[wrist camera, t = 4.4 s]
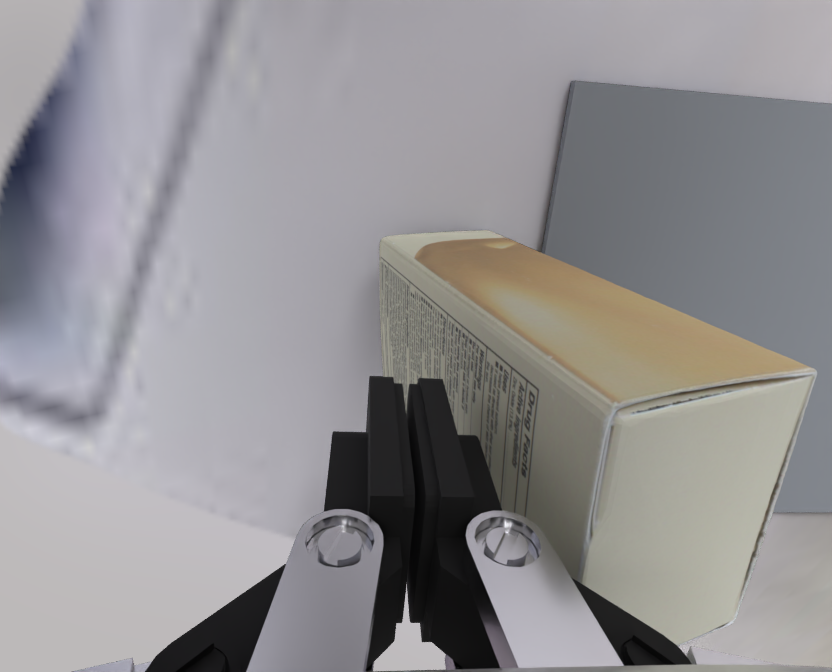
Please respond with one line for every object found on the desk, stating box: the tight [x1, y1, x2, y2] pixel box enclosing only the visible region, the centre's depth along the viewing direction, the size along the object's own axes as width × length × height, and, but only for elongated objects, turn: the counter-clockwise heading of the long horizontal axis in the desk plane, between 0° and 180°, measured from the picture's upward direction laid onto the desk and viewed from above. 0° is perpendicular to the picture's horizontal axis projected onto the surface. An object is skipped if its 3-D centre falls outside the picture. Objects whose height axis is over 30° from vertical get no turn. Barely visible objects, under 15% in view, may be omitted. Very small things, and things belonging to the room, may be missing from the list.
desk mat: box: [541, 81, 832, 512], centre depth 22 cm, size 18×18×1 cm
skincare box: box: [379, 230, 817, 646], centre depth 14 cm, size 6×4×12 cm
